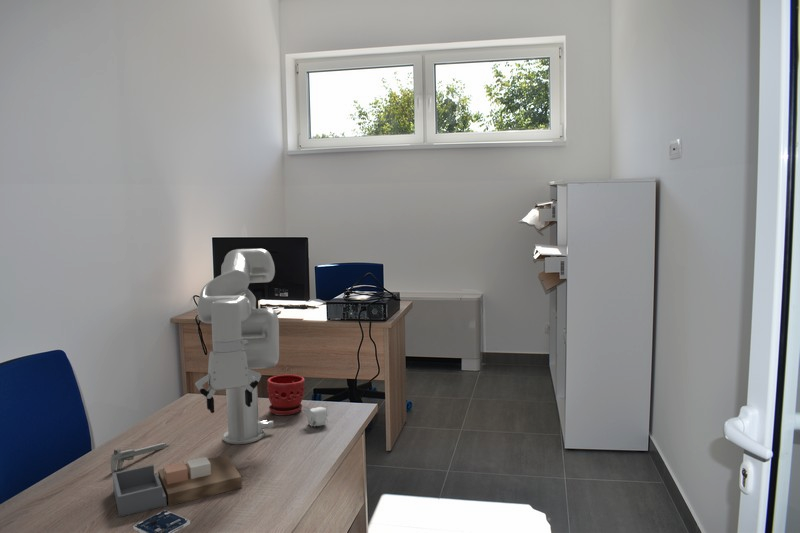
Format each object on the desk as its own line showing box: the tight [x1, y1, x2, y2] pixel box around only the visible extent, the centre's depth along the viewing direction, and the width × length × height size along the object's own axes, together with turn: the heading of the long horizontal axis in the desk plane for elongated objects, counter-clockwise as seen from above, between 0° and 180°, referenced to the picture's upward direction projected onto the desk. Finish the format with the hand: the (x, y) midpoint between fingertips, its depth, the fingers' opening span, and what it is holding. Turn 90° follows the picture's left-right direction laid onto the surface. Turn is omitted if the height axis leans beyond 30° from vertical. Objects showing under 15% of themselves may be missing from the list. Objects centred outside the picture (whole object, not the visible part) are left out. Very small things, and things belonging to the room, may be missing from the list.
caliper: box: [110, 442, 170, 473], centre depth 174 cm, size 21×1×6 cm, turn 157°
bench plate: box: [157, 454, 243, 506], centre depth 157 cm, size 18×16×3 cm
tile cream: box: [186, 456, 211, 479], centre depth 157 cm, size 5×5×3 cm
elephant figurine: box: [303, 402, 329, 427], centre depth 198 cm, size 8×10×7 cm
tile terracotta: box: [163, 461, 188, 485], centre depth 154 cm, size 5×5×3 cm
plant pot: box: [266, 374, 306, 416], centre depth 212 cm, size 13×13×12 cm
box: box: [112, 463, 168, 518], centre depth 149 cm, size 11×15×5 cm
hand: (230, 408), depth 160 cm, fingers open, 9 cm apart
